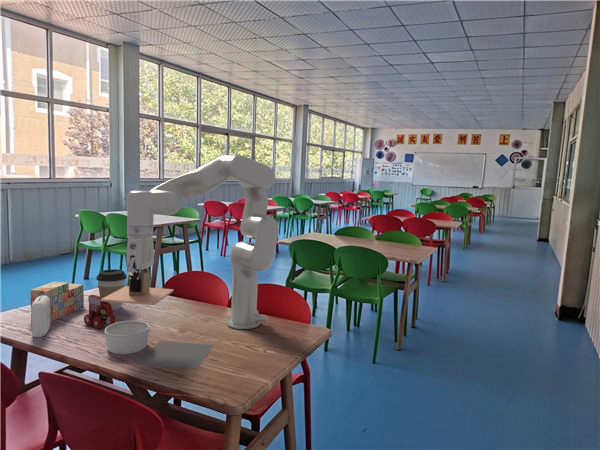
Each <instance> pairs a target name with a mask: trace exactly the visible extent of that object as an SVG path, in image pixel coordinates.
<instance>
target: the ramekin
mask: <svg viewBox="0 0 600 450" xmlns="http://www.w3.org/2000/svg"><path fill="white" fill-rule="evenodd" d="M150 329H151V327H150V324H149V323H147V322H145V321H142V320H124V321H122V320H121V321H116V322H115V323H114V324H111V325H107V326H106V327H105V328H104V332H103V334H104V336H105V343H106V344H105V345H106V348H107V350H108V352H110V353H111V354H114V355H129V354H130V355H131V354H135V353H140V351H143V350H145V348H146V347H147V345H148V341H149V332H150Z"/></svg>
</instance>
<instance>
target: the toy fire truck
mask: <svg viewBox="0 0 600 450" xmlns="http://www.w3.org/2000/svg"><path fill="white" fill-rule="evenodd" d="M87 298H88V301H87V302H88V313H87V314H85V315H84V317H83V322H84V324H85V325H86V326H93V327H94V329H96V330H99V329H101V328H103V326H104V325H107V326H109V325H111V324H114V323H117V317H116V315H115V314H114V310H112V307H111V304H110V303H108V302H104V301H101V299H102V298H103V297H100V295H96V294H90V295H89V296H88V297H87Z"/></svg>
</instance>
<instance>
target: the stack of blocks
mask: <svg viewBox="0 0 600 450" xmlns="http://www.w3.org/2000/svg"><path fill="white" fill-rule="evenodd" d="M39 296H47V297H48V298H49V299H50V323H51V322H54V321H55V320H57V319H60V318H62V317H64V316H66V315H69V314H70V313H73V312H75V311H76V310H79V309H81V308H83V307H85V304H84V302H85V299H84V298H85V293H84V284H81V283H80V284H79V283H69V282H65V281H52V282H49V283H46V284H43V285H41V286H38V287H35V288H32V289H30V313H31V314H30V319H31V320H30V322H31V323H32V304H33V302H34V301H35V299H36V298H37V297H39Z"/></svg>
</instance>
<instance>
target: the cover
mask: <svg viewBox="0 0 600 450" xmlns="http://www.w3.org/2000/svg"><path fill="white" fill-rule="evenodd" d="M134 272H136V273H137V272H138V271H134ZM150 272H151V271H150V270H149V271H145V270H141V274H140V279H141V292H131V291H130V275H129V274H128V285H124V287H123V288H121V289H119V290H117V291H116V292H114V293H112V294H110V295H108V296H106V297H104V298H102V299H101V301H104V302H118V303H122V304H133V305H135V304H136V305H146V306H148V305H149V306H155V305H157V304H158V303H159V302H161V301H162V300H164V299H165V298H166V297H168V296H169V295H171V294H172V293H173V292H174V289H172V288H162V287H161V288H160V287H158V288H157V287H150V285H151V284H150V281H151V280H150V278H151V277H150V276H151V275H150V274H151V273H150Z"/></svg>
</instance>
